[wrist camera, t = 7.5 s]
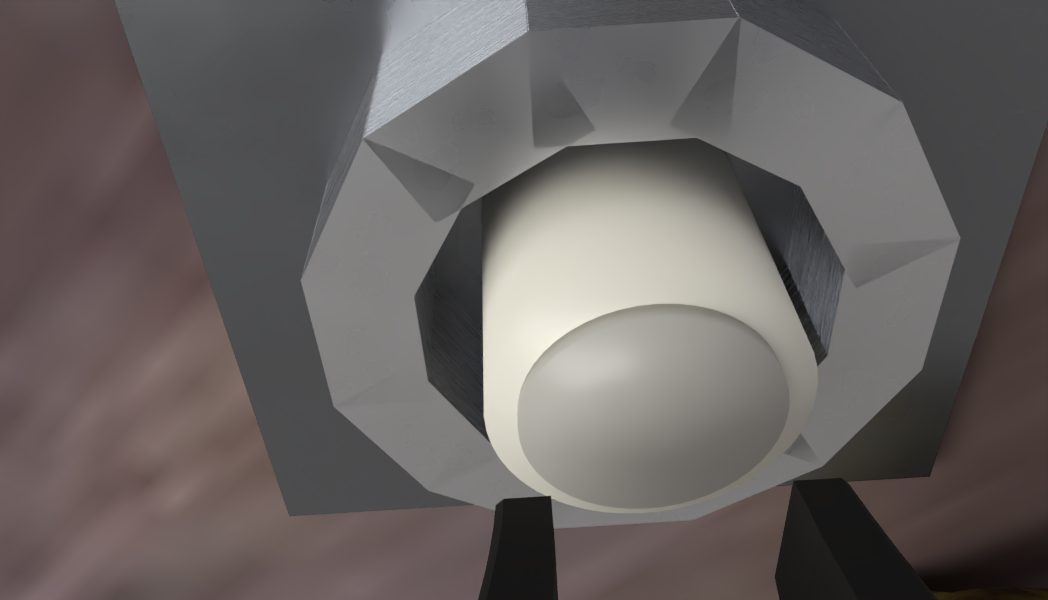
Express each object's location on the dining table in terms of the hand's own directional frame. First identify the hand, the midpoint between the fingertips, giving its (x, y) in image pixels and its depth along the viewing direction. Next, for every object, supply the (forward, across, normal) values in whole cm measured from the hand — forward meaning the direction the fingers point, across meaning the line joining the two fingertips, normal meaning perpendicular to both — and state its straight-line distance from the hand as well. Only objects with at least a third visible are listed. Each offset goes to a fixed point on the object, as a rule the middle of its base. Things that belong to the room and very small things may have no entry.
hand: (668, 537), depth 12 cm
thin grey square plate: (+8, 0, 0) cm, 8 cm away
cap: (+7, 0, 0) cm, 7 cm away
